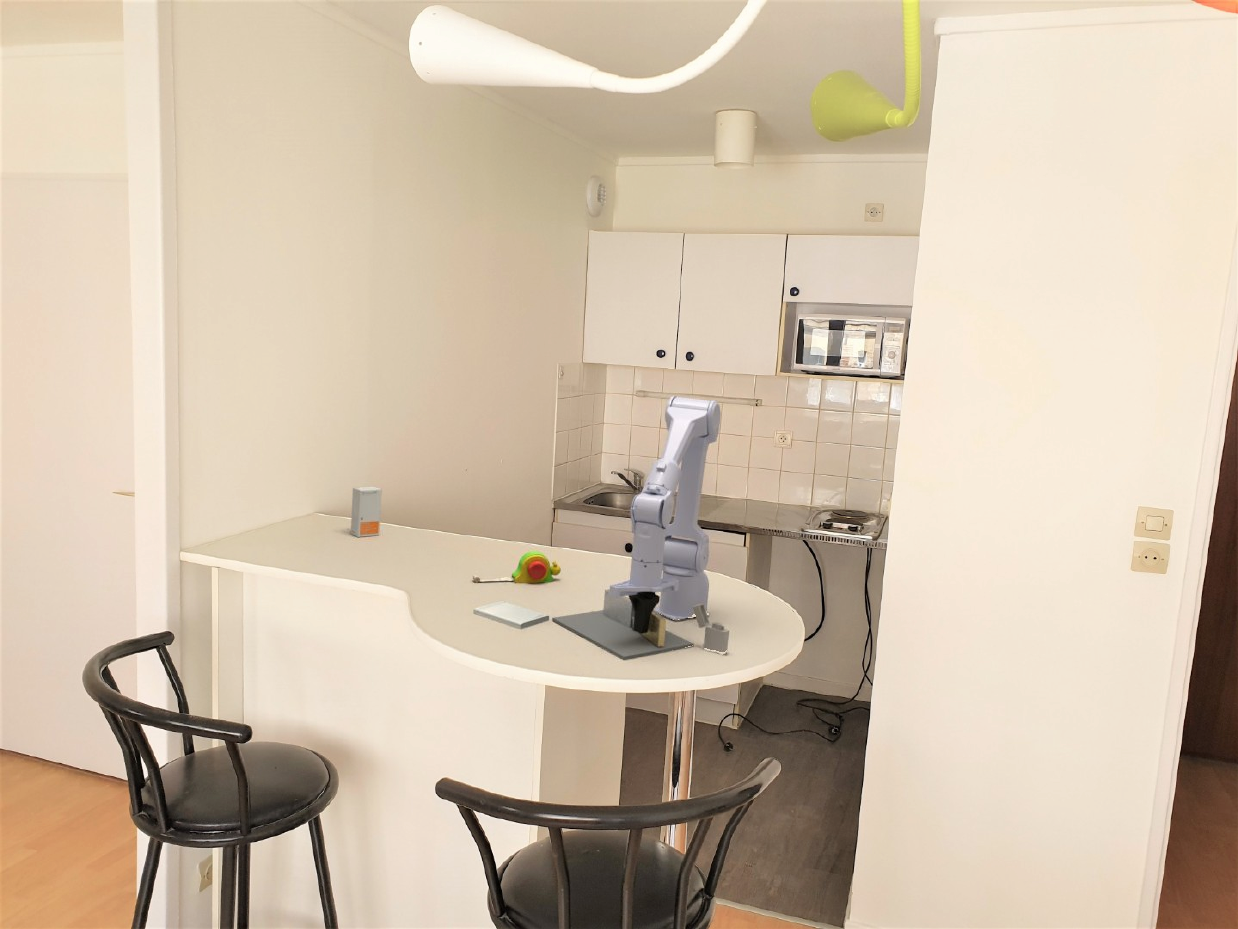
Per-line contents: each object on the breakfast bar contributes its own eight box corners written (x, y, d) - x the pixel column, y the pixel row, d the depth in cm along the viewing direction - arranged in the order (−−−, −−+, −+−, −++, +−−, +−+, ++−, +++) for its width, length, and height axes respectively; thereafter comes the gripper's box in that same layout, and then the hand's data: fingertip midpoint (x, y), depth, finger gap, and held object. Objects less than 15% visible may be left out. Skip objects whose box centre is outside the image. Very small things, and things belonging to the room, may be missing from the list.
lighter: (727, 652, 169) (731, 610, 168) (722, 655, 168) (726, 612, 167) (694, 642, 173) (697, 601, 172) (689, 645, 172) (692, 603, 171)
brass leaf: (630, 626, 177) (632, 599, 176) (639, 626, 178) (641, 599, 177) (655, 646, 167) (658, 618, 166) (665, 646, 168) (668, 617, 167)
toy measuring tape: (563, 584, 205) (565, 555, 204) (475, 586, 199) (477, 556, 198) (556, 576, 211) (558, 548, 210) (470, 578, 205) (472, 548, 204)
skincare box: (357, 537, 232) (359, 490, 230) (350, 534, 235) (351, 487, 233) (380, 535, 236) (382, 489, 234) (372, 531, 239) (374, 486, 237)
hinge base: (618, 610, 189) (620, 583, 188) (693, 646, 171) (695, 617, 170) (552, 620, 180) (554, 592, 179) (623, 660, 162) (626, 629, 161)
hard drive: (549, 615, 180) (502, 599, 187) (520, 624, 173) (473, 607, 180) (549, 623, 180) (502, 607, 187) (520, 632, 173) (472, 616, 181)
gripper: (628, 567, 161) (622, 643, 163) (692, 561, 170) (685, 633, 172) (605, 558, 167) (599, 631, 169) (667, 552, 176) (661, 622, 177)
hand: (641, 631), depth 171 cm, fingers closed
